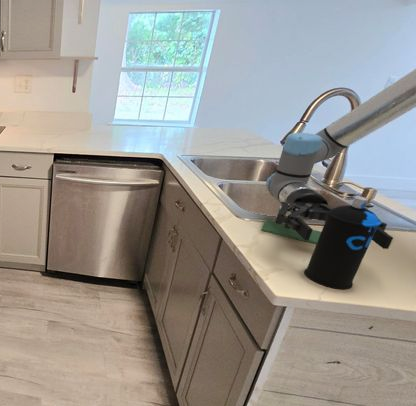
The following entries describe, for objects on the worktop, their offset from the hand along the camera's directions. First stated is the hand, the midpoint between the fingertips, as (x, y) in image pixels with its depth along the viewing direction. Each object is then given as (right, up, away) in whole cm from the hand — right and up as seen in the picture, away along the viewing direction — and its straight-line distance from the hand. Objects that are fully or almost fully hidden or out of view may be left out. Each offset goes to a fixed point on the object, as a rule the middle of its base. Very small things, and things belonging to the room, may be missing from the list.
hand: (347, 239), depth 78 cm
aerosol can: (+1, -10, +5) cm, 11 cm away
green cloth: (+10, -1, +25) cm, 27 cm away
